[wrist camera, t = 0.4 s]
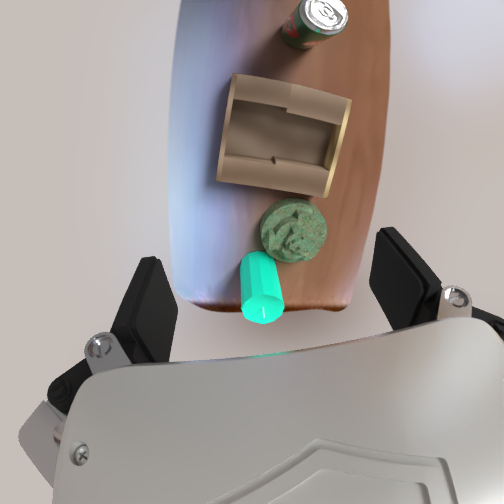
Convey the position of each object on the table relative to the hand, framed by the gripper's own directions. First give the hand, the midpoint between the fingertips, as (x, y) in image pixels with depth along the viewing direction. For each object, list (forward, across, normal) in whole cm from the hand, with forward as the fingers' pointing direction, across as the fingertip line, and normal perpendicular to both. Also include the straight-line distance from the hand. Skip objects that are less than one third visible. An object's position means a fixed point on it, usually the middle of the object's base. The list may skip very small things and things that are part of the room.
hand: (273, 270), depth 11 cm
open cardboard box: (+29, -5, -1) cm, 29 cm away
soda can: (+29, -9, -15) cm, 34 cm away
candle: (+29, +1, +20) cm, 35 cm away
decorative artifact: (+29, -5, +14) cm, 33 cm away
